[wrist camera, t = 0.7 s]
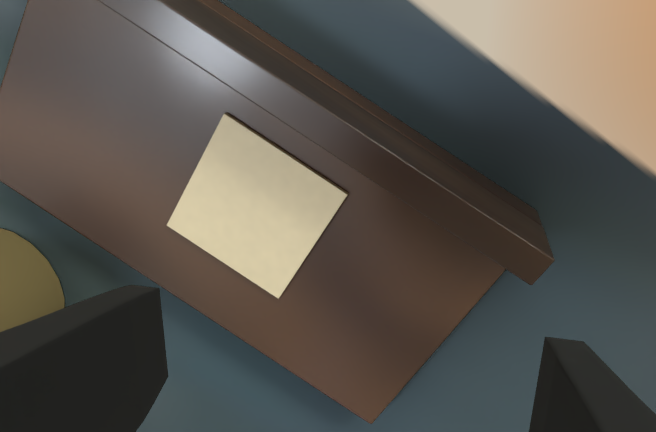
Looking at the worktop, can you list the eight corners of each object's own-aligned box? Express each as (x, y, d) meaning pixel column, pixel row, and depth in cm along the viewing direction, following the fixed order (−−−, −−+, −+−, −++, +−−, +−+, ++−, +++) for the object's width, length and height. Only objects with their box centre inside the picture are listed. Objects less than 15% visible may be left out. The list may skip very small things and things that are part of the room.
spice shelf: (376, 400, 23) (360, 475, 19) (3, 155, 23) (-84, 184, 19) (538, 210, 19) (555, 260, 15) (85, -87, 19) (-6, -109, 15)
